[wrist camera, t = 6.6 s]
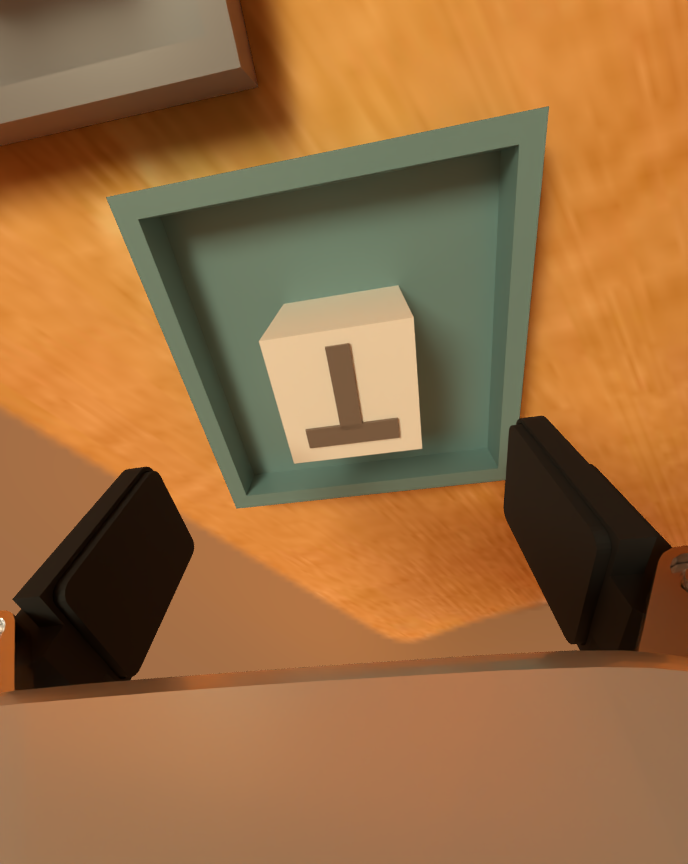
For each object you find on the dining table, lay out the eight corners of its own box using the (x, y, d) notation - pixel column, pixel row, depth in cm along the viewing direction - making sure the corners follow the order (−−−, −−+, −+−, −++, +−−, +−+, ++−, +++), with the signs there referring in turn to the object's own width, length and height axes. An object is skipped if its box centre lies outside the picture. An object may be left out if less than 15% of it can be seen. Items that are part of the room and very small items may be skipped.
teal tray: (519, 119, 13) (549, 106, 11) (498, 451, 21) (513, 479, 19) (139, 197, 15) (106, 197, 13) (247, 480, 23) (236, 508, 21)
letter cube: (398, 285, 16) (414, 318, 12) (407, 391, 19) (422, 450, 14) (283, 304, 17) (258, 342, 12) (307, 404, 19) (293, 465, 15)
